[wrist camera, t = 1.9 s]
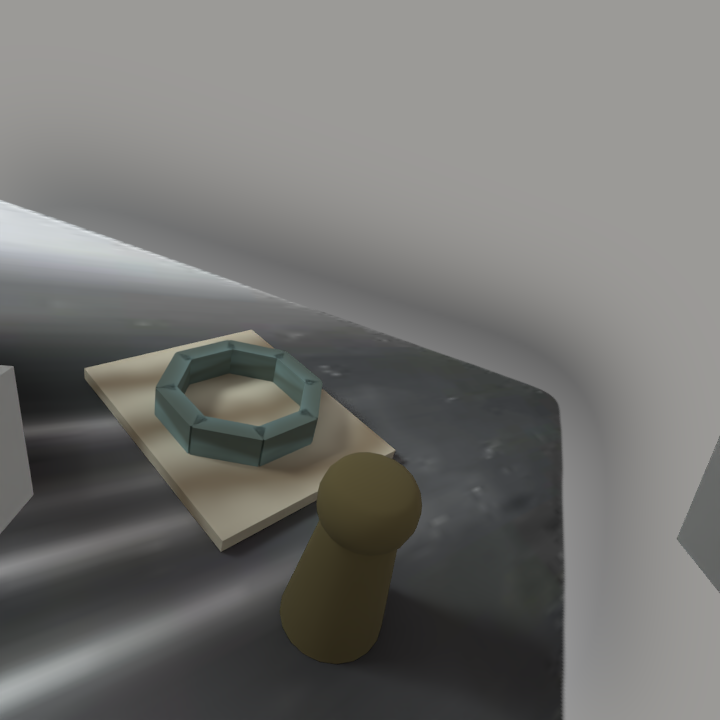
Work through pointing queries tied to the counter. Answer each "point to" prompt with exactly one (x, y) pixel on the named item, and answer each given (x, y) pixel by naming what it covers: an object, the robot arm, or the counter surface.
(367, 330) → the counter surface
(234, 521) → the ring stand
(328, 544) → the cork
